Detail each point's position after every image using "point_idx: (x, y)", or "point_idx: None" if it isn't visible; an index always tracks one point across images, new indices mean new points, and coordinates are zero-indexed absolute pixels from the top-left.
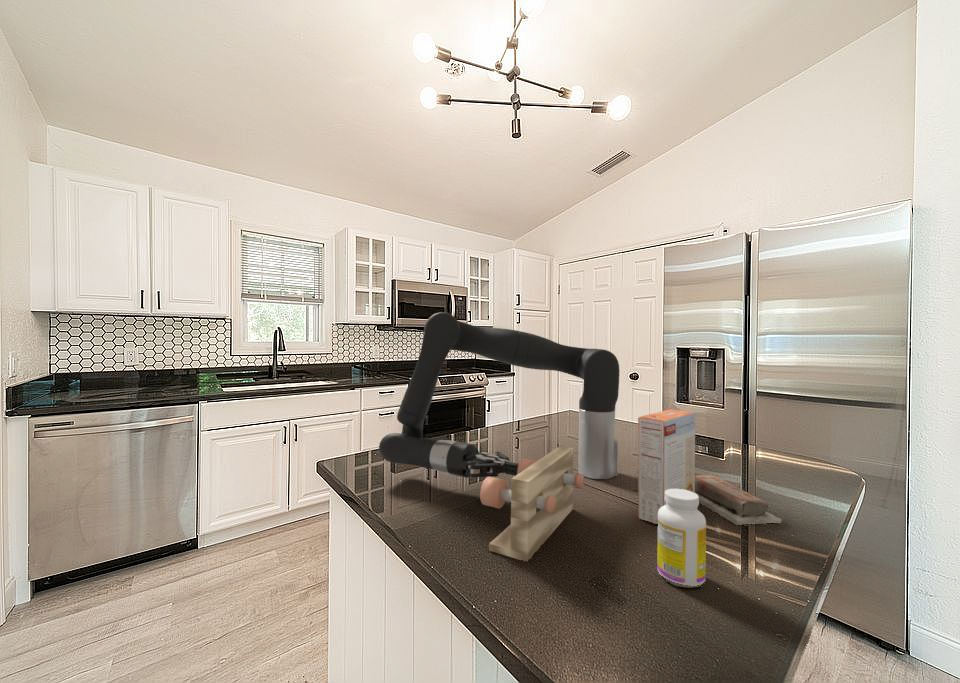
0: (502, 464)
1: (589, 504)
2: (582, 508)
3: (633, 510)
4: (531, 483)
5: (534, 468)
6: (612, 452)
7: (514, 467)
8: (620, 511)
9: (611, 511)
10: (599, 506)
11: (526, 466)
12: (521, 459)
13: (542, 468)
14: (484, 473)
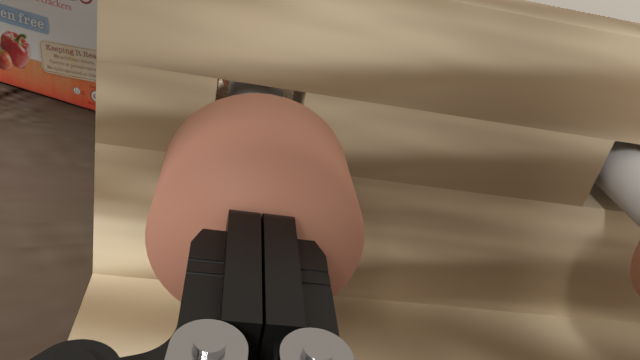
0: (342, 350)
1: (13, 208)
2: (78, 224)
3: (36, 120)
4: None
5: (629, 29)
6: None
7: (309, 260)
8: (61, 142)
9: (72, 159)
10: (28, 183)
11: (340, 156)
12: (294, 152)
13: (591, 16)
14: None
